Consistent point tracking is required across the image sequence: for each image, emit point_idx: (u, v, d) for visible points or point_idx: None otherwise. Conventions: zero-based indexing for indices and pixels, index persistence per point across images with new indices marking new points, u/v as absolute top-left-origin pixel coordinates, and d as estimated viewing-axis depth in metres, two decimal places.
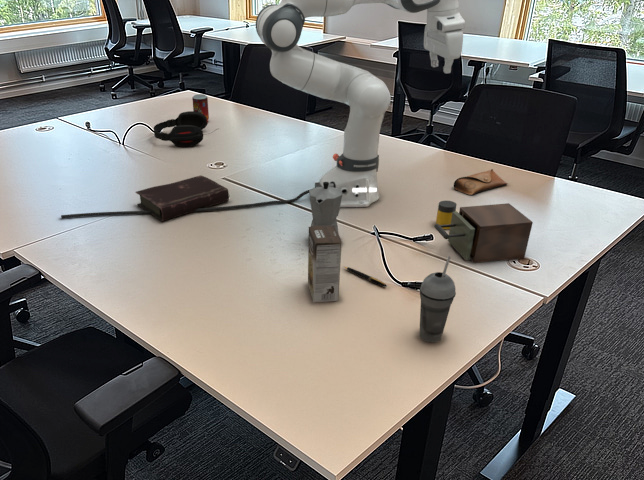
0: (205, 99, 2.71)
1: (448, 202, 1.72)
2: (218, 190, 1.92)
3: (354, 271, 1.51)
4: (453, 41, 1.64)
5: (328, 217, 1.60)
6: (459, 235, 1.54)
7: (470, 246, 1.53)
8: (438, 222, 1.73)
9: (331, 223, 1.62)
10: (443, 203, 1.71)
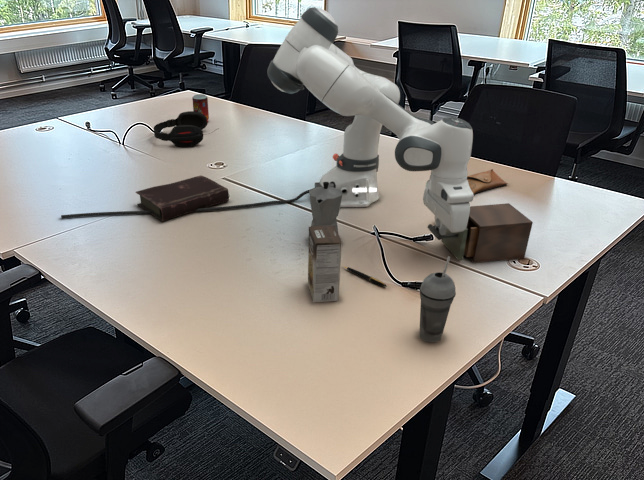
0: (205, 99, 2.71)
1: None
2: (218, 190, 1.92)
3: (354, 271, 1.51)
4: (458, 215, 1.43)
5: (328, 217, 1.60)
6: (452, 236, 1.54)
7: (463, 247, 1.53)
8: None
9: (331, 223, 1.62)
10: None
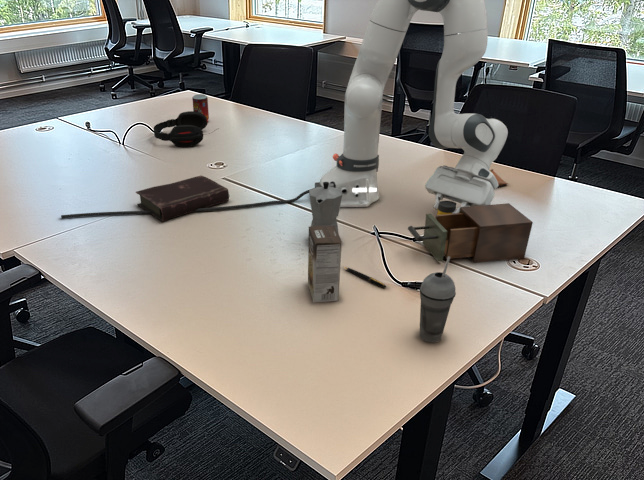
0: (205, 99, 2.71)
1: (448, 202, 1.72)
2: (218, 190, 1.92)
3: (354, 271, 1.51)
4: (491, 193, 1.65)
5: (328, 217, 1.60)
6: (432, 237, 1.53)
7: (443, 248, 1.52)
8: None
9: (331, 223, 1.62)
10: (443, 203, 1.71)
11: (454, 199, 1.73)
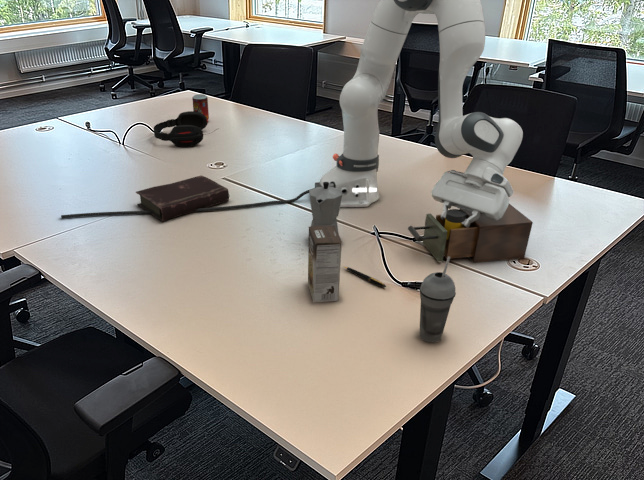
0: (205, 99, 2.71)
1: (457, 211, 1.55)
2: (218, 190, 1.91)
3: (354, 271, 1.51)
4: (505, 201, 1.48)
5: (328, 217, 1.60)
6: (432, 237, 1.53)
7: (443, 248, 1.52)
8: None
9: (331, 223, 1.62)
10: (451, 212, 1.54)
11: (464, 207, 1.56)
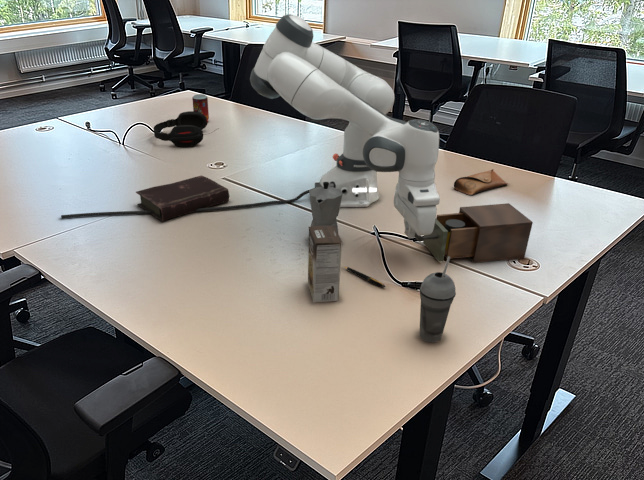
0: (205, 99, 2.71)
1: (456, 221, 1.56)
2: (218, 190, 1.91)
3: (354, 271, 1.51)
4: (424, 218, 1.42)
5: (328, 217, 1.60)
6: (432, 237, 1.53)
7: (443, 248, 1.52)
8: None
9: (331, 223, 1.62)
10: (450, 223, 1.55)
11: None
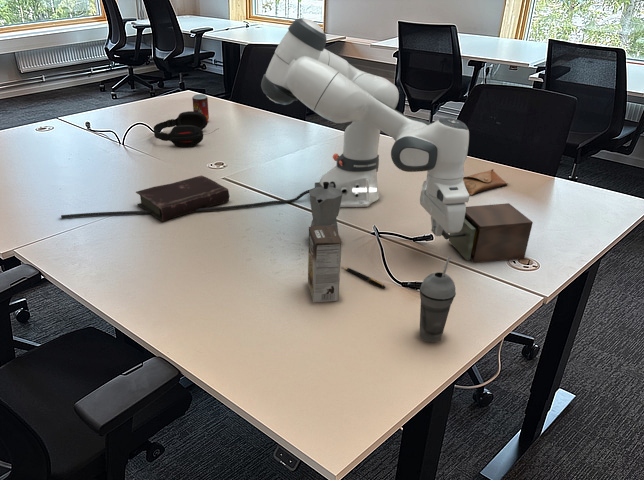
0: (205, 99, 2.71)
1: None
2: (218, 190, 1.91)
3: (354, 272, 1.51)
4: (454, 215, 1.43)
5: (328, 217, 1.60)
6: (460, 235, 1.54)
7: (471, 246, 1.53)
8: None
9: (331, 223, 1.62)
10: None
11: None
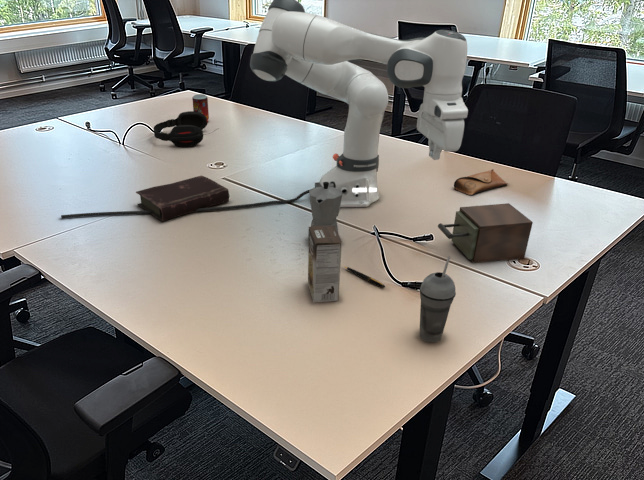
0: (205, 99, 2.71)
1: None
2: (218, 190, 1.91)
3: (354, 271, 1.51)
4: (452, 132, 1.38)
5: (328, 217, 1.60)
6: (463, 235, 1.54)
7: (474, 246, 1.53)
8: None
9: (331, 223, 1.62)
10: None
11: None
